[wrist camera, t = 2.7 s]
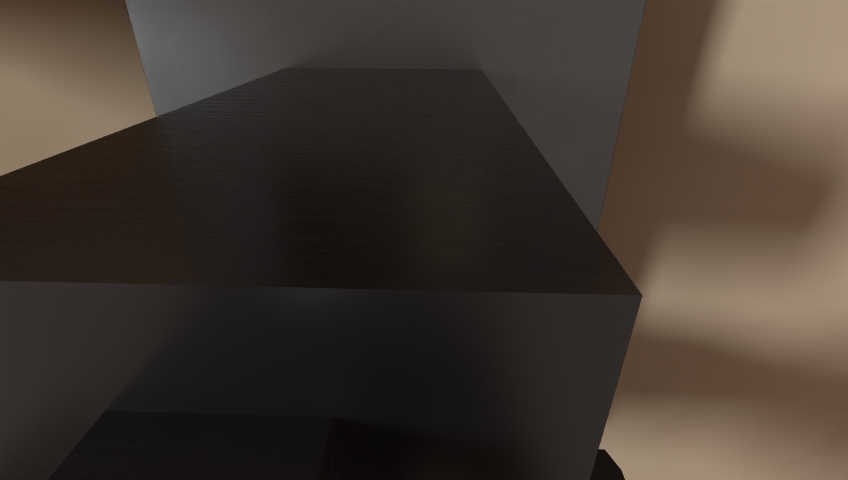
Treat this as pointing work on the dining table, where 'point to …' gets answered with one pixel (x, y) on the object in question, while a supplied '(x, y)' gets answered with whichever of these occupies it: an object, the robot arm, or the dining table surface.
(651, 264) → the dining table surface
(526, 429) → the gray slotted rack
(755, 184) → the dining table surface
